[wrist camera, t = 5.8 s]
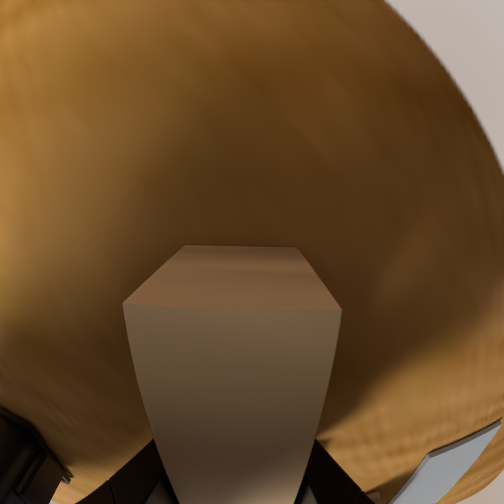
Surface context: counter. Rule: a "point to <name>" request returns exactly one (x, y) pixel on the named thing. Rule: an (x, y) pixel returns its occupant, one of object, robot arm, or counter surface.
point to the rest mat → (443, 469)
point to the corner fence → (376, 497)
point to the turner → (233, 369)
